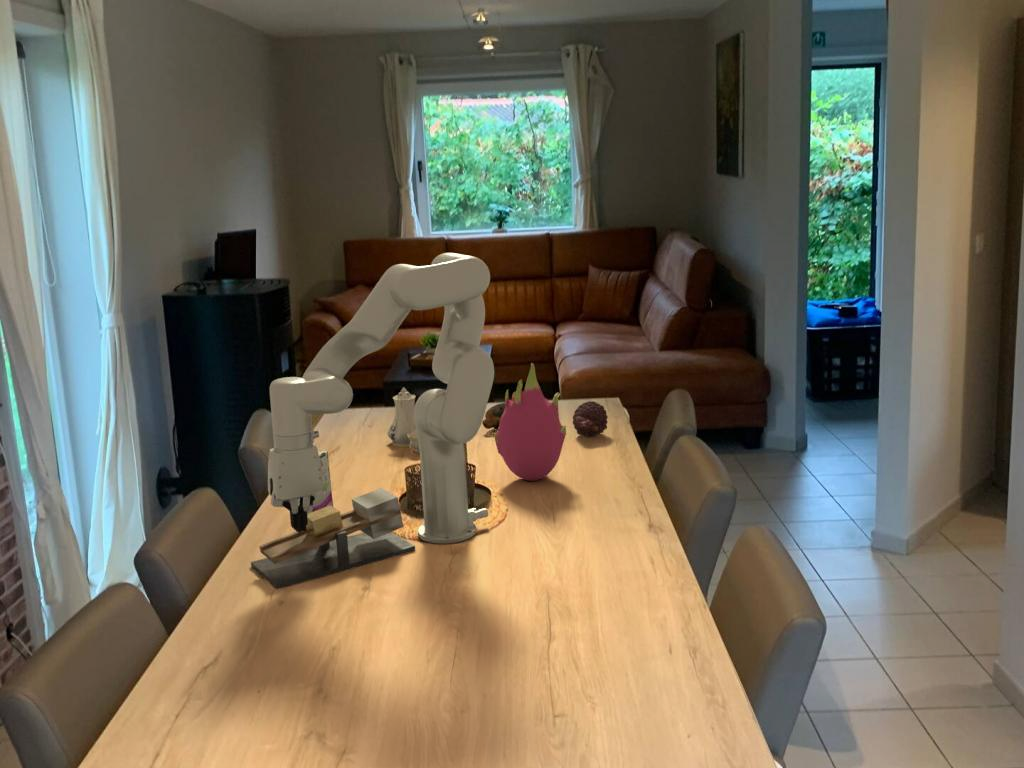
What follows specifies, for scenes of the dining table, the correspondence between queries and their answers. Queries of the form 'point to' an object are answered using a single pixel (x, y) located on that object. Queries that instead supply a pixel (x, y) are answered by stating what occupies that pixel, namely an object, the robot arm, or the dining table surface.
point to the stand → (332, 558)
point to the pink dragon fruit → (530, 431)
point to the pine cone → (590, 419)
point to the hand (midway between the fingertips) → (299, 529)
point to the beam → (344, 526)
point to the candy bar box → (327, 497)
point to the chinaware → (404, 422)
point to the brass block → (323, 521)
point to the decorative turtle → (493, 416)
